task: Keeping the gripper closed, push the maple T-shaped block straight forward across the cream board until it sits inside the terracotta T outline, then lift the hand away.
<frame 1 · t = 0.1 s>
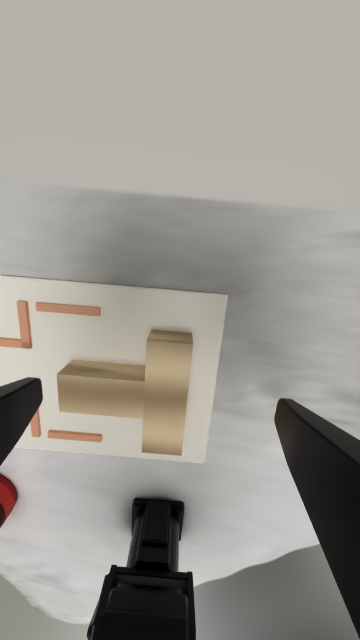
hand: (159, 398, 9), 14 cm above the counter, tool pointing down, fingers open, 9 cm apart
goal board: (75, 374, 25), on the counter
t block: (129, 381, 24), resting on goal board
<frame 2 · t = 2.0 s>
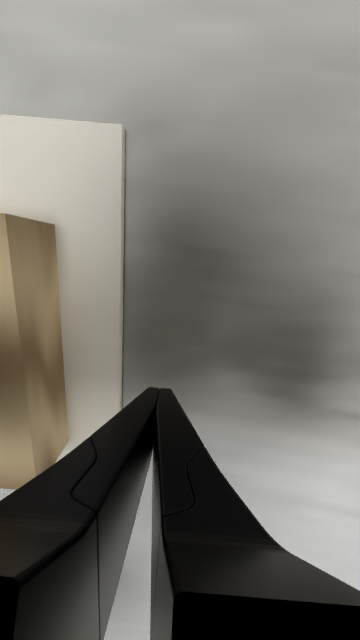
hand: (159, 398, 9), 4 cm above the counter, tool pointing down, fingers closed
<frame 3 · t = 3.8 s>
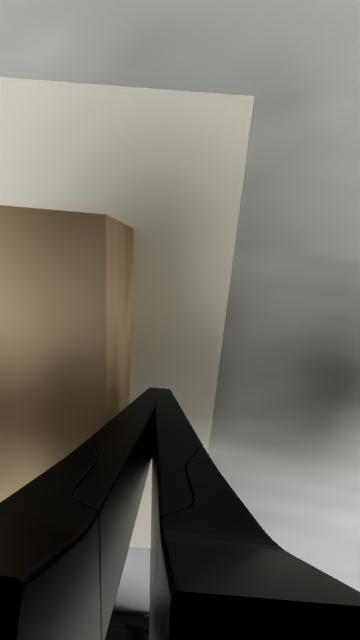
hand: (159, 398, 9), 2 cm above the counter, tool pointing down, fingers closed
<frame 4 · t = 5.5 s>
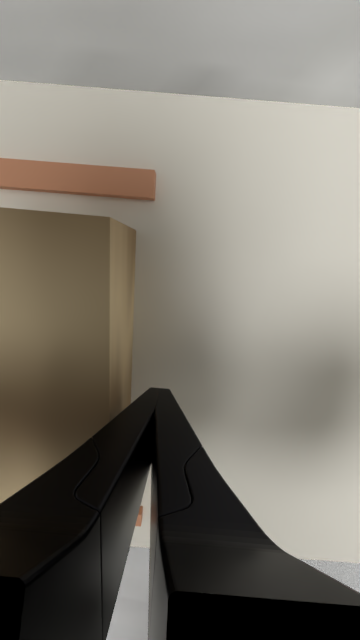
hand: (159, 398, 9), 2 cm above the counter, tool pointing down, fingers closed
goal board: (81, 372, 10), on the counter
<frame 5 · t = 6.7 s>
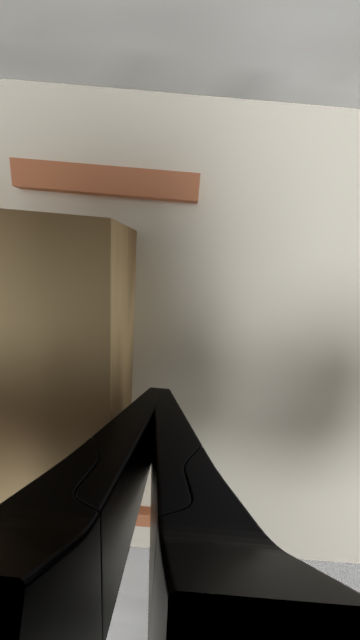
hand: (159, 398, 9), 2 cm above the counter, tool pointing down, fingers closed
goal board: (113, 374, 10), on the counter
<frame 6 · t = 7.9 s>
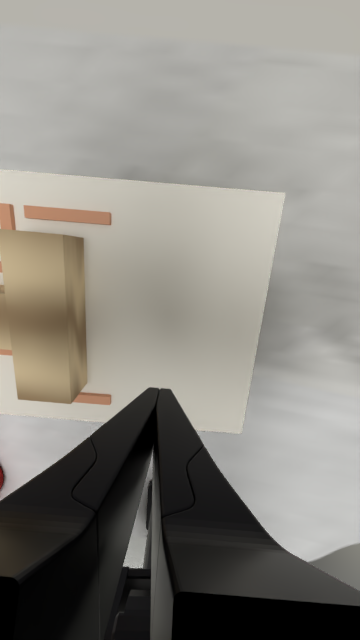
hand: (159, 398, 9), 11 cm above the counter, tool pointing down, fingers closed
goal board: (76, 313, 19), on the counter
t block: (11, 310, 19), resting on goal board
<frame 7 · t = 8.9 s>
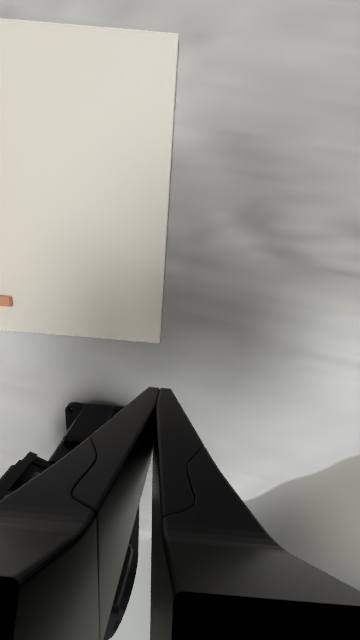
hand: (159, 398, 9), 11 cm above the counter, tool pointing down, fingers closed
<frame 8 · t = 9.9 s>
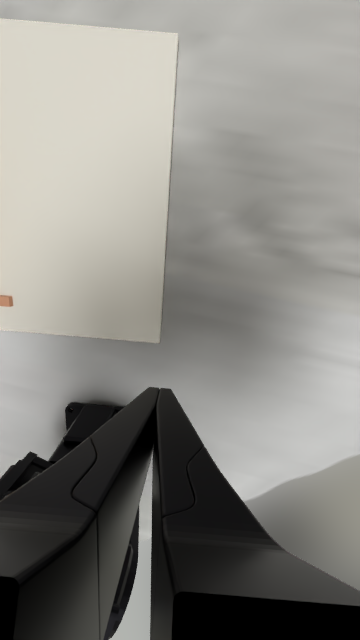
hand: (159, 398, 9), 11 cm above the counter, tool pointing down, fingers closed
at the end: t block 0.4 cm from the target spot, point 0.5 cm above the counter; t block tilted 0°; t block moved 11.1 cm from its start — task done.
